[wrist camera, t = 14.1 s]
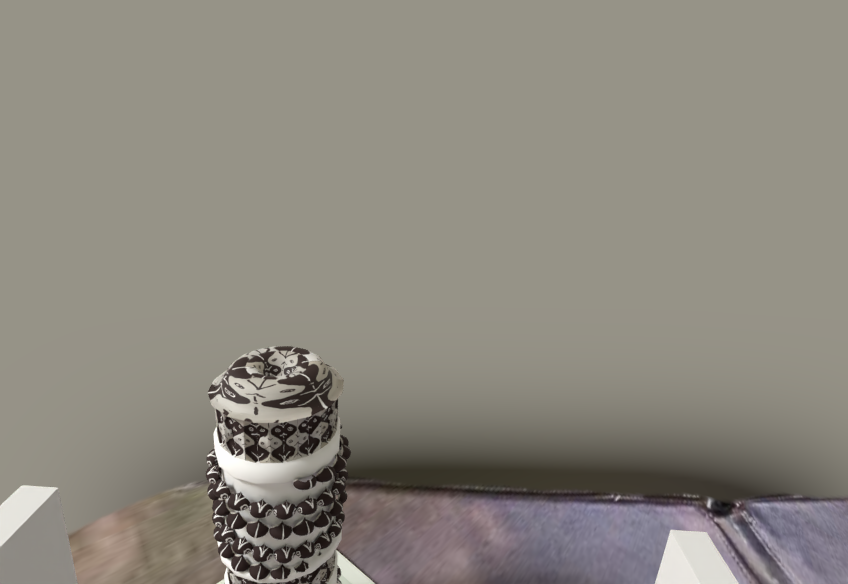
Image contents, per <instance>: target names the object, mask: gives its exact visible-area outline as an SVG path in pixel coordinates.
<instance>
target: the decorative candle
mask: <svg viewBox="0 0 848 584" xmlns="http://www.w3.org/2000/svg"><path fill="white" fill-rule="evenodd" d="M342 393H343V379H342V377H341V376H340V375H339V373H338V372H337V371H336V369H335V368H333V367H331V366H329V365H327V364H325V363H324V361H323V360H322V359H321V358H320V357H319V356H318V355H316V354H314V353H312V352H310V351H308V350H306V349H301V348H296V347H288V346H287V347H286V346H282V347H281V346H280V347H279V346H274V347H268V348H261V349H258V350H255V351H252V352H249V353H246V354H244V355H243V356H241V357H240V358H238V359H237V360H236V361H234V362H233V363H232V364H231V365H230V366H229V368H228V370H226V371H225V372H224V373H222V374H221V375H220V376H218V377H217V378H215V379H214V381H213V383H212V385H211V387H210V389H209V391H208V395H209V398H210V401H211V404H212V406H213V407H214V408H215V419H216V424H217V427H216V429H215V432H214V448H215V449H213V450H212V451H210V453H209V454H208V456H207V464H208V465H209V466H210V467H209V468H208V469H207V471H206V478H207V480H208V481H209V482H210V483H212V484H210V485H209V487H208V491H207V492H208V496H209V497H210V498H211V499H212V500H213V507H212V509H213V511H214V513H213V517H212V520H213V523H214V524H215V525H216V526H217V527H216V528H215V529H214V538H215V539H216V540H217V541H218V547H219V548H218V552H219V554H220V556H221V560H222V562H223V563H224V564H225V565H226V566H227V568H226V572H225V584H342V583H341V581H340V580H339V579H338V578H339V577H340V576H341V569H340V567H339V566H338V565H337V562H338V553H337V551H336V548H337V546H338V544H339V542H340V541H341V534H342V523H343V522H344V519H345V515H344V512H343V511H342V509H343V503H344V502H345V501H346V499H347V493H346V491H345V490H344V489H345V487H346V485H345V481H346V480H347V478H348V472H347V470H346V469H345V467H346V464H347V460H346V459H348V458H349V457H350V454H351V450H350V448H349V447H348V440H347V438H346V437H345V436H343V435H340V429H341V428H342V425H340V418H339V416H338V398H339V396H340V395H341V394H342ZM338 450H341V455H338V454H337V457H336V453H337V452H338ZM217 465H218V466H217ZM337 473H339V478H338V474H337ZM221 476H222V481H221ZM335 495H338V500H337V499H335Z"/></svg>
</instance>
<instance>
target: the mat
mask: <svg viewBox="0 0 848 584" xmlns="http://www.w3.org/2000/svg"><path fill="white" fill-rule="evenodd" d="M336 551H337V550H336ZM337 553H338V562H337V565H338V566H339V567H340V569H341V576H340V577H339V578H338V579H339V580H340V581H341V583H342V584H375V583H374V582H373V581H371V580H370V579H369V578H368V577H367V576H366V575H364V574H363V573H362V572H361V571H360V570H359V569H358V568H356V567H355V566H354V565H353V564H352V563H351V562H350V561H348V560H347V559H346V558H345V557H344V556H343V555H341V554H340V553H339V552H338V551H337ZM217 584H225V579H224V580H222V581H220V582H219V583H217Z"/></svg>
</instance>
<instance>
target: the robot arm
mask: <svg viewBox="0 0 848 584" xmlns="http://www.w3.org/2000/svg"><path fill="white" fill-rule="evenodd" d="M0 584H78V583H77V578H76V573H75V568H74V563H73V558H72V553H71V548H70V544H69V539H68V534H67V529H66V525H65V519H64V514H63V509H62V504H61V500H60V495H59V490H58V488H54V487H40V486H24V485H22V486H21V487H20V488H19V489H17V490H16V491H15V492H14V493H13V494H12V495H11V496H10V497H9V498H8V499H7V500H6V501H5V502H3V503H2V505H1V506H0ZM655 584H739V583H738V582H737V580H736V579H735V577H734V575H733V574H732V572H731V571H730V569H729V567H728V566H727V564H726V563H725V561H724V560H723V558H722V556H721V555H720V553H719V552H718V550H717V549H716V547H715V545H714V544H713V542H712V541H711V539H710V538H709V536H708V534H707V533H706V532H694V531H679V530H671V531H670V534H669V538H668V541H667V545H666V548H665V551H664V555H663V558H662V562H661V565H660V569H659V572H658V575H657V579H656V582H655Z"/></svg>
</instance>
